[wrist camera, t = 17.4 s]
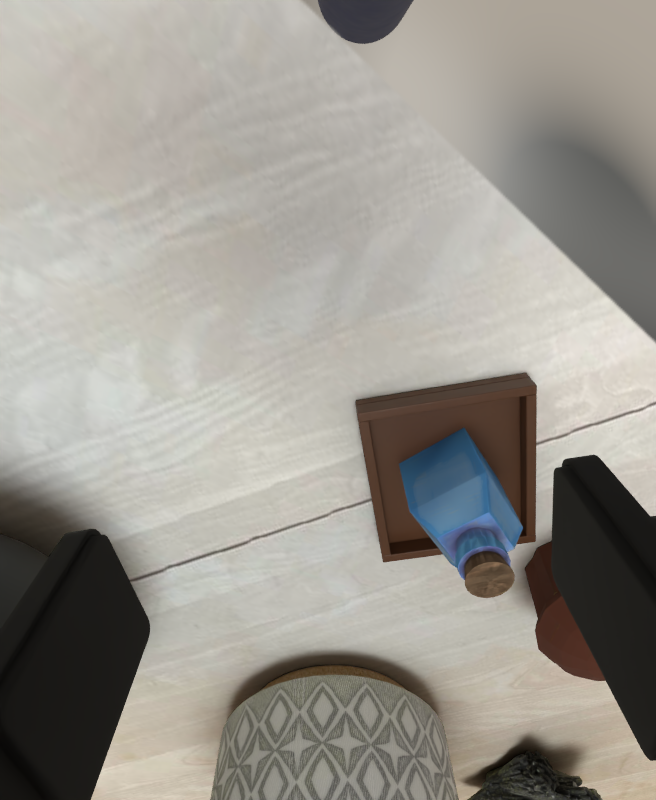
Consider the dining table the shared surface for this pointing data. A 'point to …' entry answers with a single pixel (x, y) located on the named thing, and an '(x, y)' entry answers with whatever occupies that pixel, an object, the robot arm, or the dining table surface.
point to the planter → (334, 741)
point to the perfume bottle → (464, 511)
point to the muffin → (557, 621)
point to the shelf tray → (432, 422)
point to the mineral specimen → (532, 782)
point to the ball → (16, 572)
